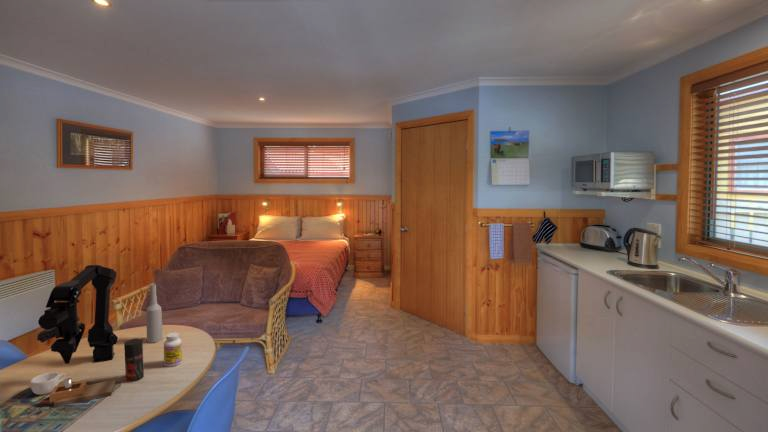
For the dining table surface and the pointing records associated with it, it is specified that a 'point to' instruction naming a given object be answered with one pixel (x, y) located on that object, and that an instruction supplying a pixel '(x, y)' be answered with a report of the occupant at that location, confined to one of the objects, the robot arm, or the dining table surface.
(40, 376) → the teacup
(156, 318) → the bottle
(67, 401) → the board
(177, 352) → the supplement bottle
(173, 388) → the dining table surface
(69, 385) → the keeper peg
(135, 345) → the deodorant
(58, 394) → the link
